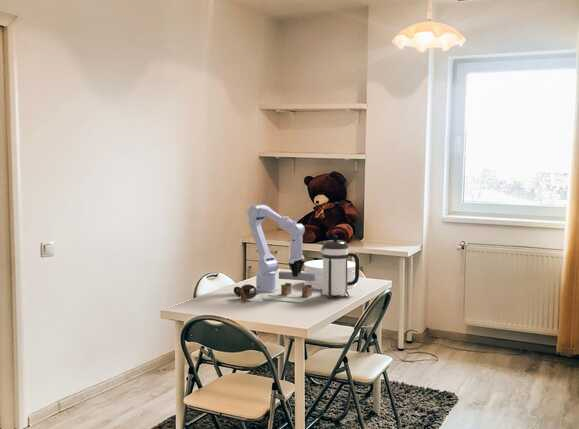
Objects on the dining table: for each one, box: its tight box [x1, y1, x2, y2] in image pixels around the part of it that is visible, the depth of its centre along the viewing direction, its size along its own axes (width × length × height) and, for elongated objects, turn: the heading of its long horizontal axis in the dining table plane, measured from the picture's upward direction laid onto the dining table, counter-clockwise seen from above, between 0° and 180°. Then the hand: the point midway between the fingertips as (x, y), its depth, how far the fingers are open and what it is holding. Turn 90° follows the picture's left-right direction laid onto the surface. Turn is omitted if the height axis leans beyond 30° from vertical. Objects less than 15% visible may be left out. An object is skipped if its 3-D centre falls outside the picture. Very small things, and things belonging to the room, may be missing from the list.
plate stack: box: [303, 259, 358, 291], centre depth 335 cm, size 28×28×12 cm
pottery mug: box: [233, 283, 258, 303], centre depth 299 cm, size 12×10×8 cm
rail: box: [278, 270, 315, 282], centre depth 309 cm, size 18×3×3 cm, turn 67°
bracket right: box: [301, 285, 313, 298], centre depth 307 cm, size 3×6×5 cm, turn 157°
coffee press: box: [319, 234, 360, 300], centre depth 307 cm, size 17×16×30 cm
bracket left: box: [280, 282, 292, 296], centre depth 312 cm, size 3×6×5 cm, turn 158°
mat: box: [262, 294, 309, 304], centre depth 299 cm, size 20×8×1 cm, turn 67°
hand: (296, 275), depth 309 cm, fingers closed on rail, 3 cm apart
